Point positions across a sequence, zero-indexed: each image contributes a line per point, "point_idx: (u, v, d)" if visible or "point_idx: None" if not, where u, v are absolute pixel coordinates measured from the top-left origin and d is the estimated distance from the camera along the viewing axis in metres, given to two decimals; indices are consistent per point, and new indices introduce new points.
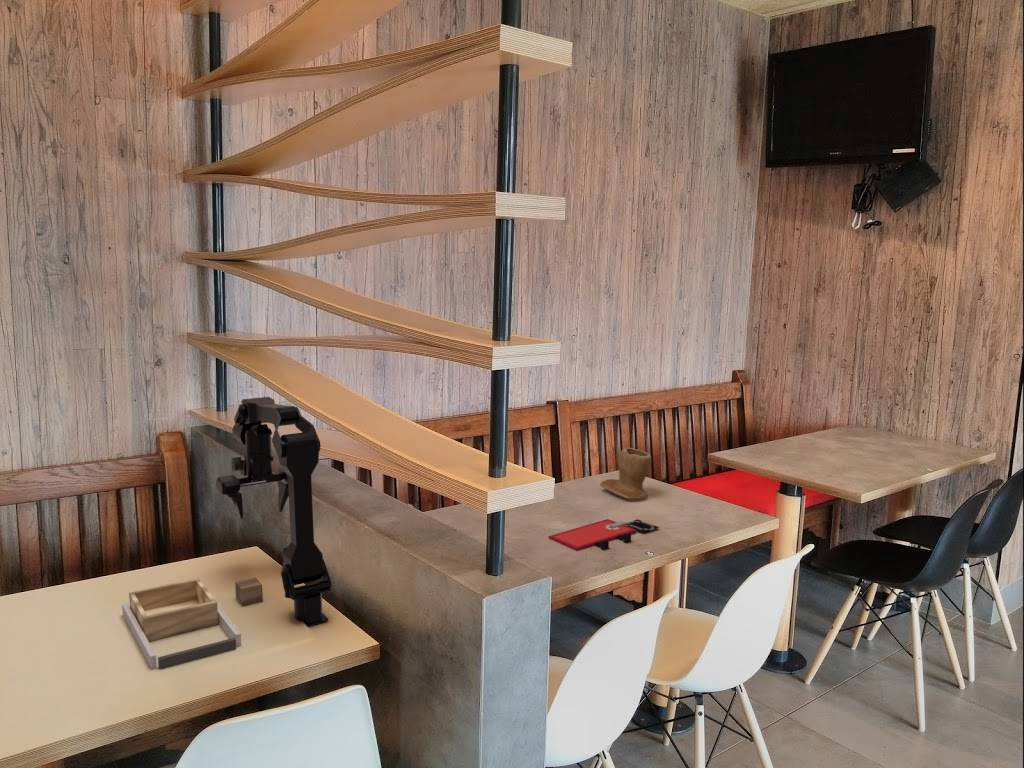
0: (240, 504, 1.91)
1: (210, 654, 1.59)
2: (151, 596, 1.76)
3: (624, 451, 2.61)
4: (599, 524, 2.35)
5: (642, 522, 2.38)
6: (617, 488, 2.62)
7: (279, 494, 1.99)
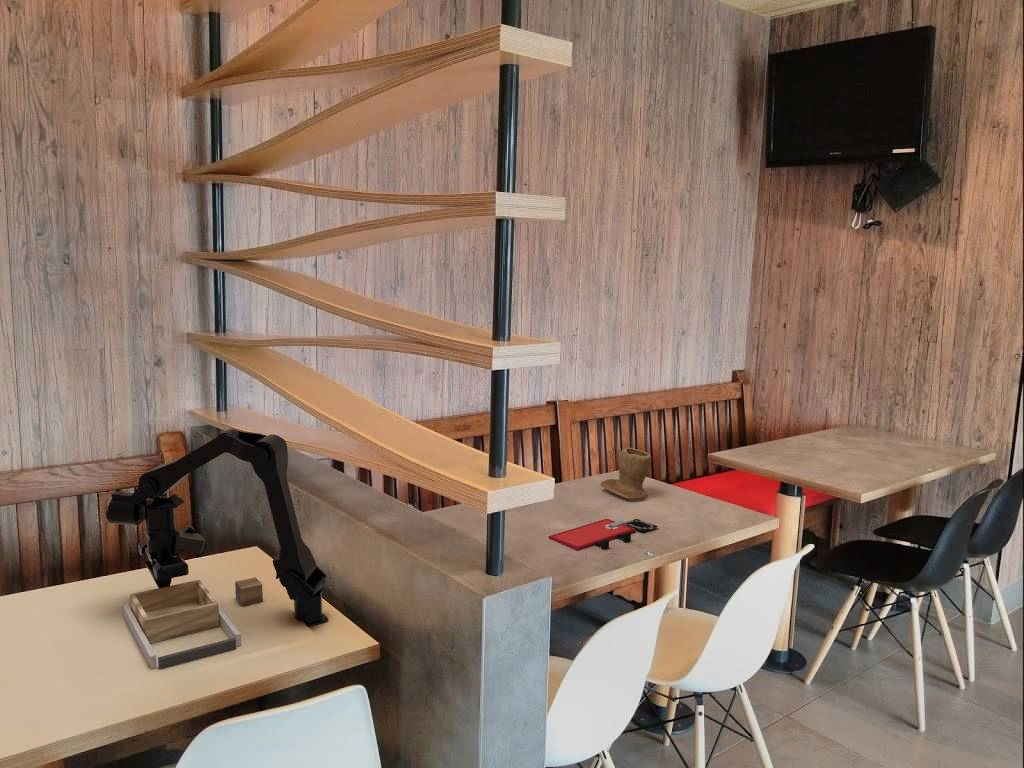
0: (153, 577, 1.78)
1: (210, 654, 1.59)
2: (152, 598, 1.75)
3: (624, 451, 2.61)
4: (598, 523, 2.36)
5: (641, 521, 2.39)
6: (617, 488, 2.62)
7: None
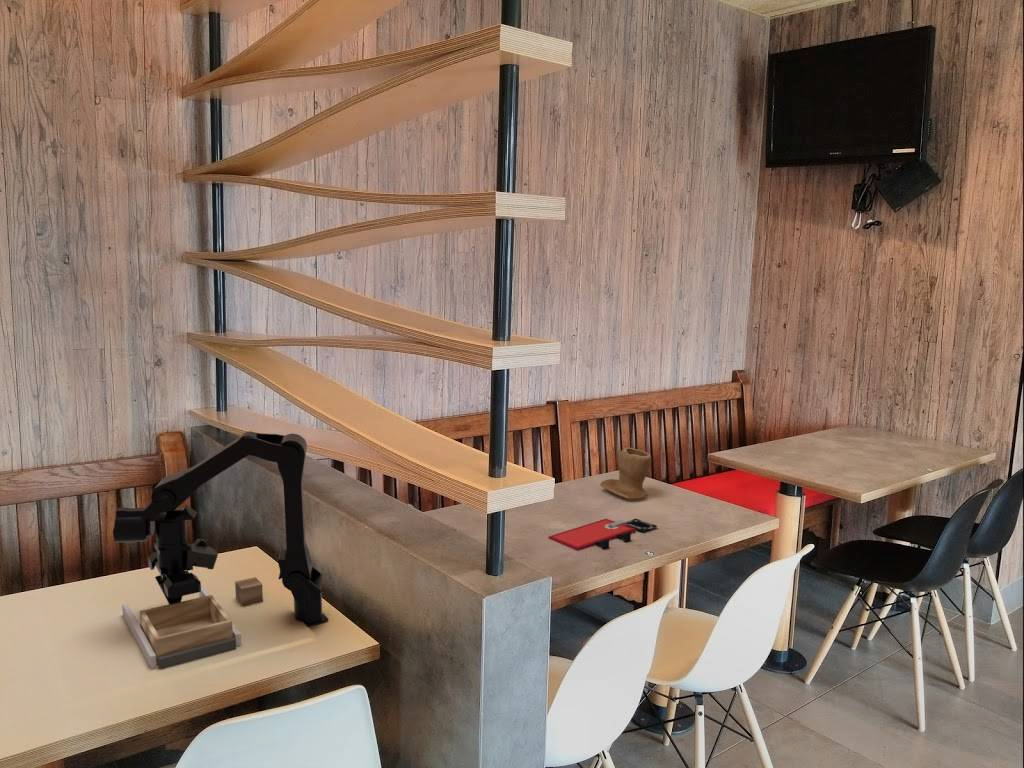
0: (163, 593, 1.70)
1: (210, 654, 1.59)
2: (162, 615, 1.68)
3: (624, 451, 2.61)
4: (598, 524, 2.36)
5: (640, 521, 2.39)
6: (617, 488, 2.62)
7: None
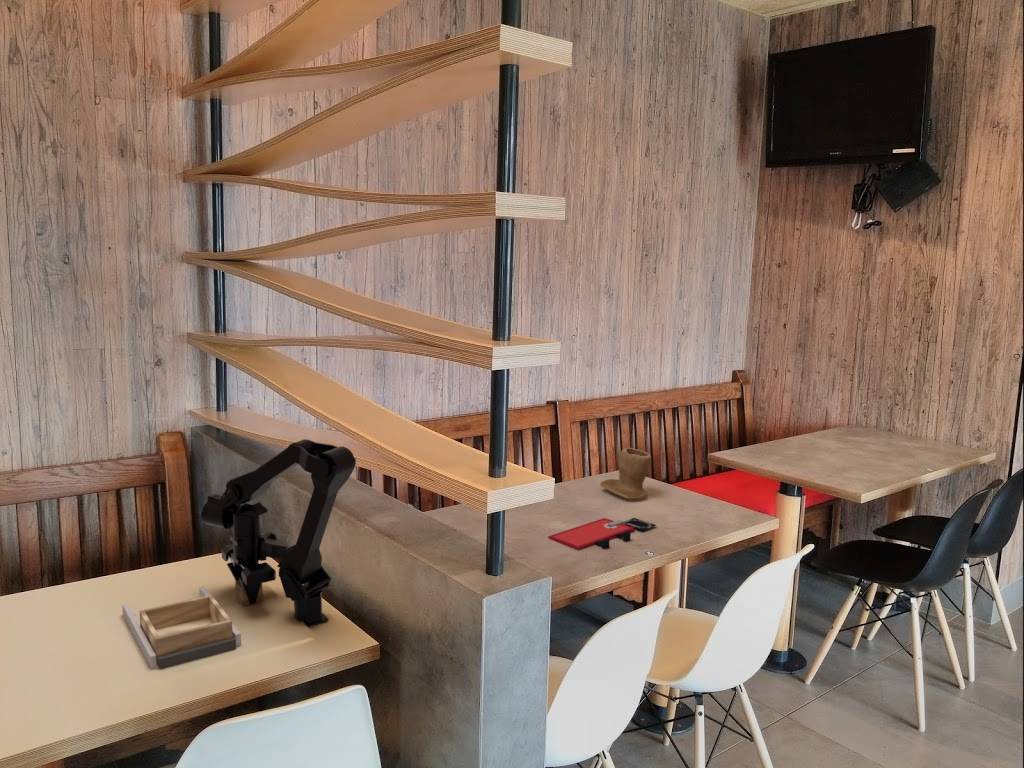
0: (235, 579, 1.84)
1: (210, 654, 1.59)
2: (162, 615, 1.68)
3: (624, 451, 2.61)
4: (597, 523, 2.36)
5: (639, 520, 2.40)
6: (617, 488, 2.62)
7: None
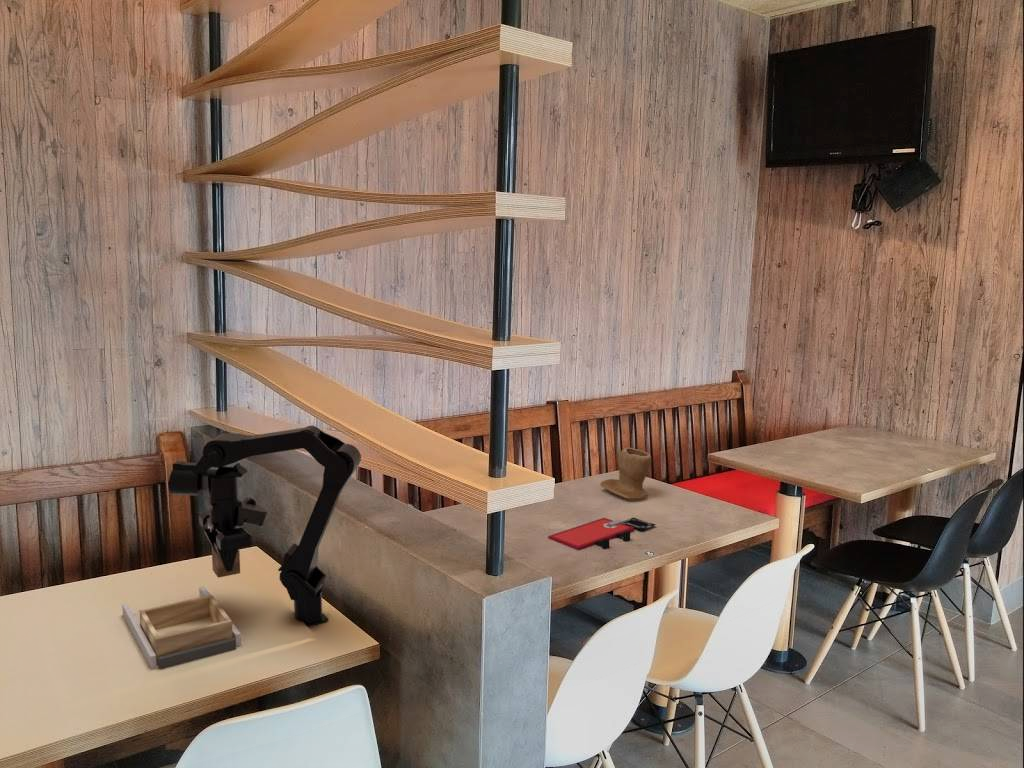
0: (211, 545, 1.76)
1: (210, 654, 1.59)
2: (162, 615, 1.68)
3: (624, 451, 2.61)
4: (596, 523, 2.36)
5: (638, 520, 2.40)
6: (617, 488, 2.62)
7: None
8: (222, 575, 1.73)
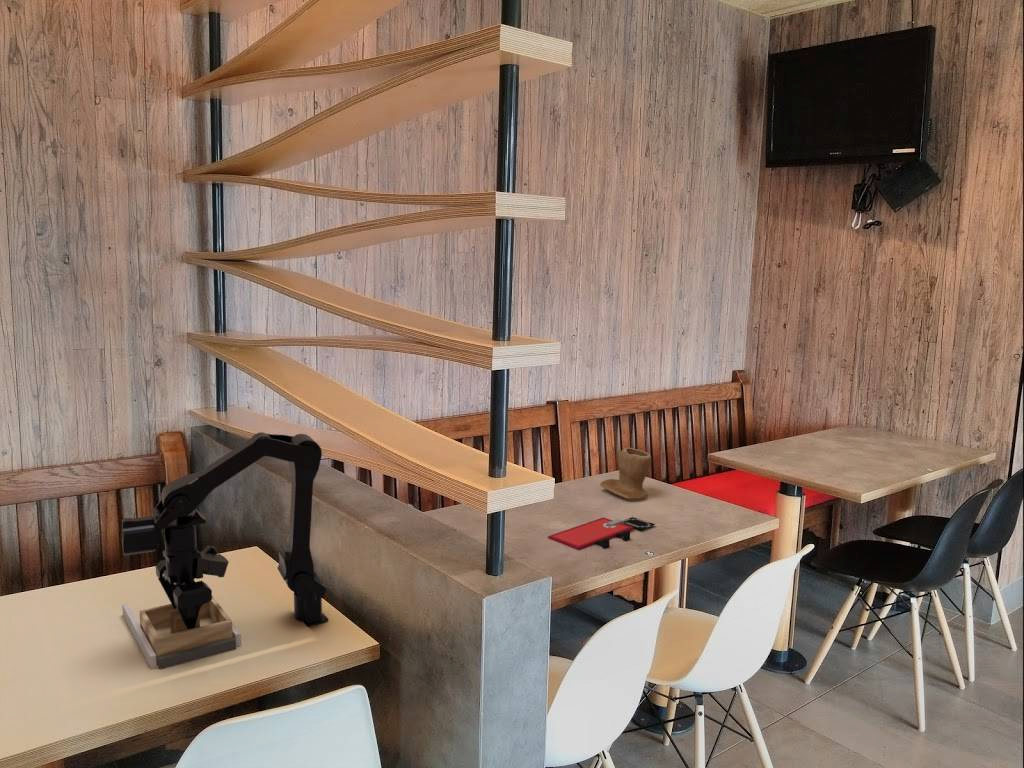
0: (166, 594, 1.67)
1: (210, 654, 1.59)
2: (162, 615, 1.68)
3: (624, 451, 2.61)
4: (596, 522, 2.37)
5: (637, 519, 2.40)
6: (617, 488, 2.62)
7: None
8: None
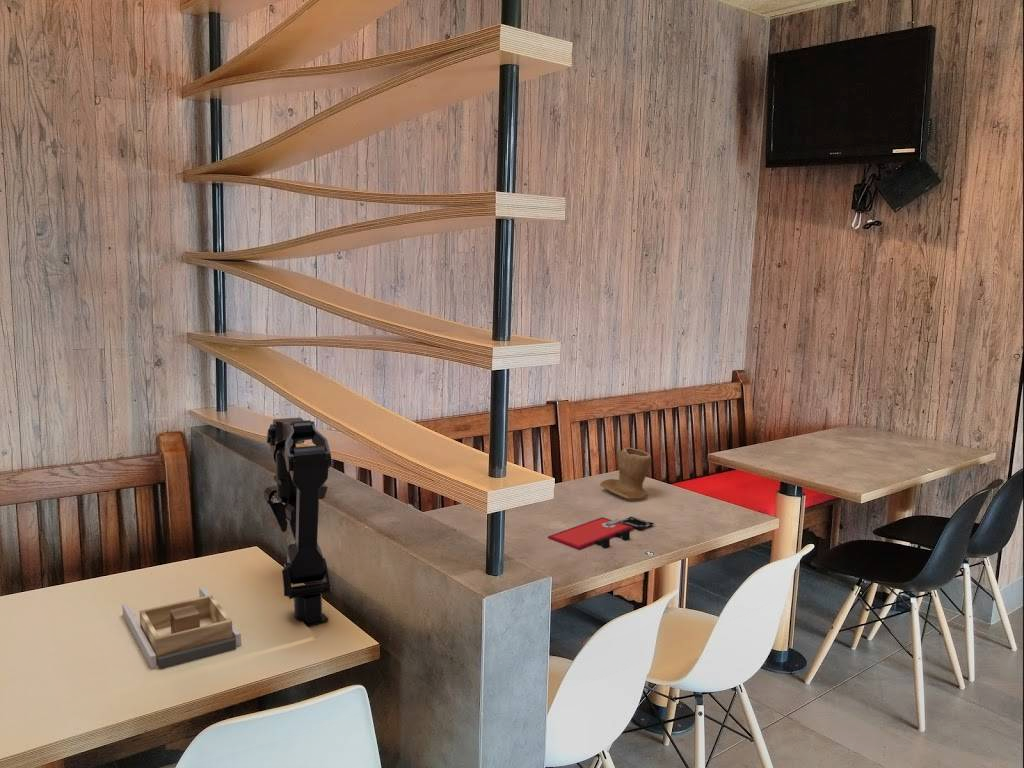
0: (274, 515, 1.95)
1: (210, 654, 1.59)
2: (162, 615, 1.68)
3: (624, 451, 2.61)
4: (595, 522, 2.37)
5: (636, 519, 2.41)
6: (617, 488, 2.62)
7: None
8: None
